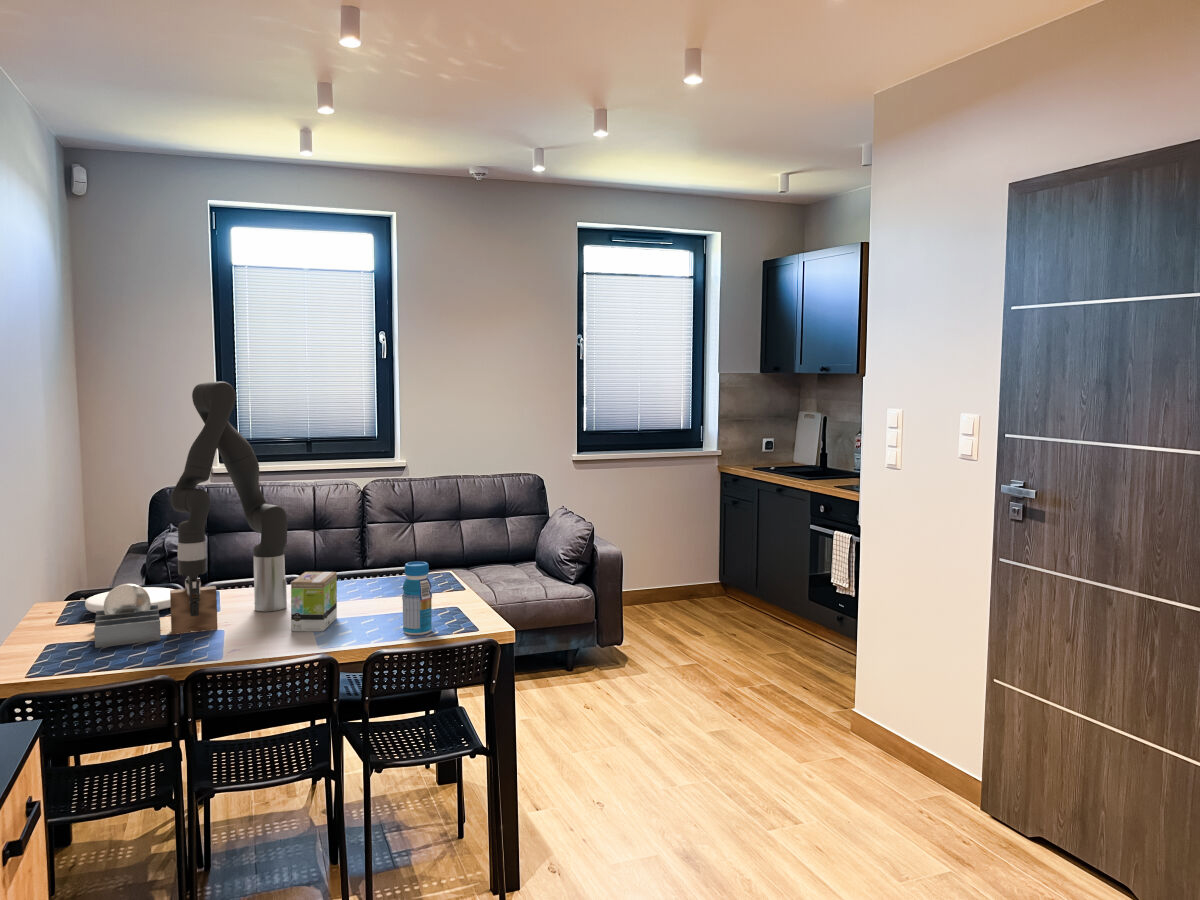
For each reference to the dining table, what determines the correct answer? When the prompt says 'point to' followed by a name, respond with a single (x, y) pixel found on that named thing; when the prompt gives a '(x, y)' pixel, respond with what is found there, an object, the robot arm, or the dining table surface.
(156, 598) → the plate
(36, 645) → the dining table surface
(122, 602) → the dish rack
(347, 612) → the dining table surface
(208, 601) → the walnut board
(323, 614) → the tea box
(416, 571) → the beverage bottle
